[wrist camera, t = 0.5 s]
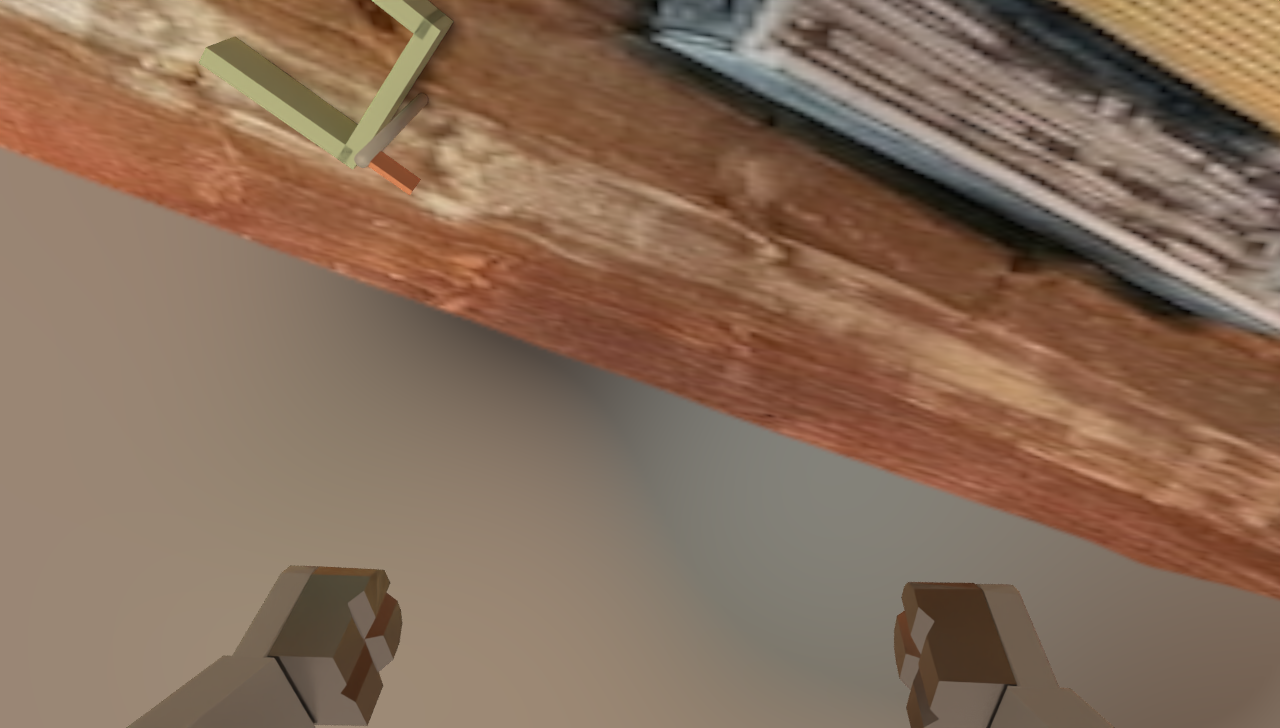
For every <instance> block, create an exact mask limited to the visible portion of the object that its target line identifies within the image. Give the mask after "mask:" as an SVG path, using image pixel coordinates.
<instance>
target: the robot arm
mask: <svg viewBox="0 0 1280 728" xmlns="http://www.w3.org/2000/svg"><path fill="white" fill-rule="evenodd" d="M389 585H390V581H389V579H388V577H387V575H386V572H385V570H379V569H378V570H377V569H358V568H339V567H320V566H289V567H288V568H287V569H286V570H284V571H283V572H282V573H281V574H280V576H279V578H278V579H277V581H276V583H275V584H274V586H273V588H272V589H271V591H270V593H269V594H268V596H267V598H266V599H265V601H264V603H263V605H262V606H261V608H260V610H259V611H258V613H257V615H256V617H255V618H254V620H253V621H252V624H251V625H250V627H249V628H248V630H247V632H246V633H245V635H244V637H243V638H242V640H241V642H240V644H239V645H238V647H237V649H236V650H235V652H234V654H233V655H232V656H222V657H221V658H220V659H218V660H217V661H216V662H214V663H213V664H212V665H210V666H209V667H207V668H206V669H205V670H204V671H202V672H201V673H199V674H198V675H197V676H195V677H194V678H193V679H191V680H190V681H189V682H187V683H186V684H185V685H183V686H182V687H181V688H179V689H178V690H176V691H175V692H174V693H172V694H171V695H170V696H169V697H167V698H166V699H164V700H163V701H162V702H161V703H159V704H158V705H156V706H155V707H154V708H152V709H151V710H150V711H149V712H147V713H146V714H144V715H143V716H141V717H140V718H139V719H137V720H136V721H135V722H133V723H132V724H131V725H129V726H128V727H127V728H315V726H314V725H353V726H354V725H355V726H367V725H368V723H369V720H370V718H371V715H372V713H373V710H374V708H375V705H376V703H377V700H378V698H379V695H380V693H381V690H382V687H383V683H382V680H381V677H380V674H379V671H380V670H382V669H383V668H384V667H385V666H386V665H387V664H389V663H390V662H391V661H392V660H393V659H394V656H395V653H396V651H397V648H398V645H399V642H400V635H401V628H402V616H401V609H400V607H399V604H398V601H397V600H396V599H394V598H393V597H392V596H390V595H389V594H388V593H386V592H387V590H388V587H389ZM901 598H902V602H903V606H904V610H905V611H903V612H902V613H901V614H899V615H897V618H896V623H895V628H894V650H895V658H896V665H897V669H898V674H899V678H900V679H901V681H902V682H903V683H904V684H905V685H906V686H907V687H908V688H909V689H910V690H911V691H910V695H909V698H908V702H907V706H906V709H907V713H908V718H909V722H910V726H911V728H1115V727H1113V726H1112V725H1111V724H1110V723H1109V722H1108V721H1107V720H1106V719H1104V718H1103V717H1102V716H1101V715H1100V714H1099V713H1098V712H1097V711H1095V710H1094V709H1093V708H1092V707H1091V706H1090V705H1089V704H1088V703H1086V702H1085V701H1084V700H1083V699H1082V698H1081V697H1080V696H1079V695H1077V694H1076V693H1075V692H1074V691H1073V690H1072V689H1070V688H1060V687H1059V685H1058V683H1057V680H1056V678H1055V676H1054V673H1053V671H1052V668H1051V666H1050V664H1049V661H1048V659H1047V657H1046V654H1045V652H1044V649H1043V647H1042V645H1041V643H1040V640H1039V638H1038V636H1037V633H1036V631H1035V628H1034V626H1033V623H1032V621H1031V619H1030V616H1029V614H1028V612H1027V609H1026V607H1025V605H1024V603H1023V600H1022V597H1021V595H1020V593H1019V591H1018V590H1017V589H1016V588H1015V587H1014V586H1013V585H1007V584H1006V585H1004V584H974V583H933V582H929V583H928V582H908V583H907V584H906V585H905V586H904V589H903V593H902V597H901Z"/></svg>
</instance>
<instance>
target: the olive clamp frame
mask: <svg viewBox="0 0 1280 728" xmlns="http://www.w3.org/2000/svg"><path fill="white" fill-rule="evenodd" d="M372 1H373V2H374V3H376V4H377V5H378V6H379V7H381V8H382V9H383V10H385V11H386V12H387V13H388V14H390V15H391V16H392V17H393V18H395V19H396V20H397V21H398V22H400V23H401V24H402V25H404V26H405V27H406V28H407V29H409V30H410V31H411V32H412V33H414V34H413V36H412V38H411V39H410V41H409V43H408V44H407V46H406V47H405V49H404V51H403V52H402V54H401V56H400V57H399V59H398V60H397V62H396V64H395V65H394V67H393V69H392V70H391V72H390V73H389V75H388V77H387V78H386V80H385V82H384V83H383V85H382V86H381V88H380V90H379V91H378V93H377V94H376V96H375V98H374V99H373V101H372V103H371V104H370V106H369V107H368V109H367V111H366V112H365V114H364V116H363V117H362V119H361V120H360V122H359V124H358V125H357V124H356V123H355V122H353V121H352V120H350V119H349V118H348V117H346V116H345V115H343V114H342V113H341V112H339V111H338V110H336V109H335V108H334V107H332V106H331V105H329V104H328V103H327V102H325V101H324V100H323V99H321V98H320V97H318V96H317V95H316V94H314V93H313V92H311V91H310V90H309V89H307V88H306V87H304V86H303V85H302V84H300V83H299V82H297V81H296V80H295V79H293V78H292V77H290V76H289V75H288V74H286V73H285V72H283V71H282V70H281V69H279V68H278V67H277V66H275V65H274V64H272V63H271V62H270V61H268V60H267V59H265V58H264V57H263V56H261V55H260V54H258V53H257V52H256V51H254V50H253V49H251V48H250V47H249V46H247V45H246V44H244V43H243V42H242V41H240V40H239V39H238V38H236V37H233V38H230V39H227V40H224V41H222V42H219V43H216V44H214V45H211V46H208V47H206V48H205V51H204V53H203V55H202V57H201V59H200V61H199V64H201V65H202V66H204V67H205V68H207V69H208V70H210V71H211V72H212V73H214V74H215V75H217V76H218V77H220V78H221V79H223V80H224V81H225V82H227V83H228V84H230V85H231V86H233V87H234V88H236V89H237V90H238V91H240V92H241V93H243V94H244V95H246V96H247V97H249V98H250V99H252V100H253V101H254V102H256V103H257V104H259V105H260V106H262V107H263V108H265V109H266V110H267V111H269V112H270V113H272V114H273V115H275V116H276V117H278V118H279V119H280V120H282V121H283V122H285V123H286V124H288V125H289V126H291V127H292V128H293V129H295V130H296V131H298V132H299V133H301V134H302V135H304V136H305V137H306V138H308V139H309V140H311V141H312V142H314V143H315V144H317V145H318V146H319V147H321V148H322V149H324V150H325V151H327V152H328V153H330V154H331V155H332V156H334V157H335V158H337V159H338V160H340V161H341V162H343V163H344V164H346V165H347V166H348V167H350V168H351V169H354V168H355V167H356V166H359V167H361V168H365V167H367V166H369V167H370V168H372V169H373V170H374V171H376V172H377V173H379V174H380V175H382V176H383V177H384V178H386V179H387V180H389V181H390V182H392V183H393V184H394V185H396V186H397V187H399V188H400V189H402V190H403V191H404V192H406V193H407V194H409V195H410V194H411V193H412V191H413V190H414V188H415V187H416V186H417V184H418V183H419V181H420V180H421V179H420V178H418V177H417V176H415V175H414V174H413V173H411V172H410V171H408V170H407V169H406V168H404V167H403V166H401V165H400V164H399V163H397V162H396V161H394V160H393V159H392V158H390V157H389V156H387V155H386V154H385V153H383V152H382V150H383V149H384V148H385V147H386V146H387V145H388V144H389V143H390V142H391V141H392V140H393V139H394V138H395V137H396V136H397V135H398V134H399V132H400V131H401V130H402V129H403V128H404V127H405V126H406V125H407V124H408V123H409V122H410V121H411V120H412V119H413V118H414V117H415V116H416V115H417V114H418V112H419V111H420V110H421V109H422V108H423V107H424V106H425V105H426V104H427V103H428V97H427V96H426V95H425V94H423V93H420V94H418V95H417V96H416V97H415V98H414V99H413V100H412V101H411V102H410V103H409V104H408V105H407V106H406V107H405V108H404V109H403V110H402V111H401V112H400V113H399V114H398V115H397V116H396V117H395V118H394V119H393V120H391V119H392V117H393V116H394V114H395V113H396V111H397V109H398V108H399V106H400V105H401V103H402V102H403V100H404V99H405V97H406V95H407V94H408V92H409V91H410V89H411V88H412V86H413V84H414V83H415V81H416V80H417V78H418V77H419V75H420V73H421V72H422V70H423V69H424V67H425V66H426V64H427V62H428V61H429V59H430V58H431V56H432V55H433V53H434V51H435V50H436V48H437V47H438V45H439V44H440V42H441V40H442V39H443V37H444V36H445V34H446V33H447V31H448V30H449V28H450V26H451V25H452V23H453V22H454V21H452V20H451V19H450V18H449V17H448V16H446V15H445V14H444V13H443V12H441V11H440V10H439V9H438V8H437V7H435V6H434V5H433V4H432V3H430V2H429V1H428V0H372ZM390 120H391V121H390Z"/></svg>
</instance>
